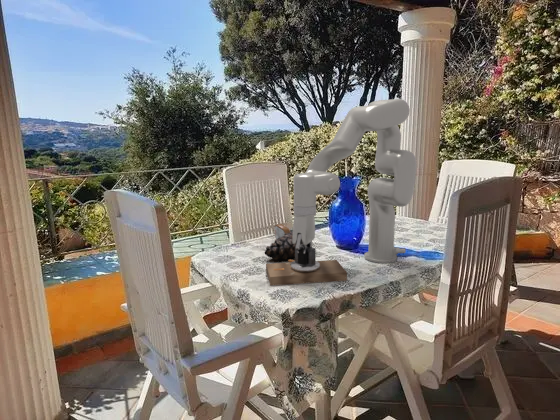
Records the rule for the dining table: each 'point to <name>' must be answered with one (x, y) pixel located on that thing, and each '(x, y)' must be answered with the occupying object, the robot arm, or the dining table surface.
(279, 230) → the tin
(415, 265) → the dining table surface
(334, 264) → the brown wooden board
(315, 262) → the dial knob
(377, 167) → the robot arm
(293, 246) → the pine cone
